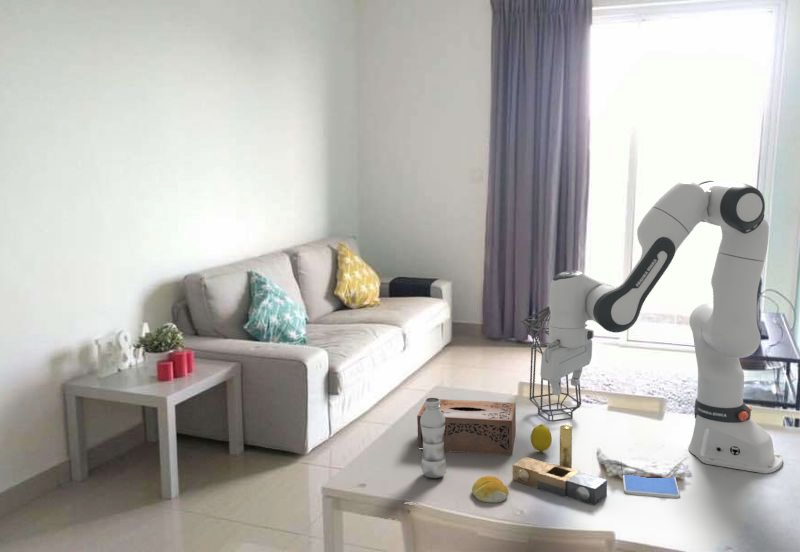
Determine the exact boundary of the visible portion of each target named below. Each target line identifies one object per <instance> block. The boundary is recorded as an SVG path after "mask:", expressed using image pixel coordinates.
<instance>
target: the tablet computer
mask: <svg viewBox="0 0 800 552" xmlns="http://www.w3.org/2000/svg"><path fill="white" fill-rule="evenodd" d="M622 482H623V485H622V486H623V493H625V494H626V495H636V496H644V497H645V496H647V497H659V498H669V499H670V498H671V499H679V498H680V497H681V495H680V491H679V486H678V483H677V479H676V476H675V477H674V476H673V477H670V478H646V477H640V476H634V475H623V476H622Z"/></svg>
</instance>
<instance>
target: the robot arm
mask: <svg viewBox="0 0 800 552" xmlns="http://www.w3.org/2000/svg"><path fill="white" fill-rule="evenodd" d="M765 211H766V202H765V198H764V195H763V193H762V192H761V191H760V190H758V188H756V187H755V186H752V185H750V184H748V183H747V184H746V183H739V182H737V181H736V182H735V181H728V180H726V181H725V180H724V181H714V180H708V181H702V182H699V183H695V182H693V181H689V180H683V181H681V182H678V183H676V184H675V185H674V186H671V188H670V189H668V191H667V192H665V193H664V194H663V195H662V196H661V197H660V198H659V199H658V200H657V201H656V202H655V203H654V205H653V206H652V207H651V208H650V209H649V210H648V212H647V213H646V214H645V215H644V216H643V218H642V220H640V223H639V224H638V227H637V229H636V232H637V233H636V235H637V241H638V243H639V245H640V247H641V255H640V258H639V260H638V262H637V263H636V264H635V266H634V267H633V268H632V270H631V271H630V272H629V273H628V275H627V277H626V278H625V279H624V281H623V282H622V283H621V284H620V285H618V286H616V287H615V286H613V285H611V284H608V283H605V282H603V281H600V280H596V279H593V278H592V277H589V276H588V275H586V274H584V273H583V272H582V271H580V270H565V271H562V272H559V273H557V274H555V275H554V276H553V277H552V278H551V279H552V280H551V282H550V289H549V297H548V298H549V299H548V302H549V303H548V306H549V309H550V315H551V317H550V316H549V317H550V321H549V323H548V328H549V329H548V330H549V332H548V333H549V335H548V343H549V344H546V345H547V346H546V348H545V349H543V350H542V352H543V354H541V362H540V372H539V373H540V379H541V378H542V379H543V381H547V382H548V381H550V387H551V391H552V392H551V394H552V393H553V395H552V396H557V397H558V395H562V394H561V393H563V392H562V390H563V388H562V387H560V386H559V382H560V378H561V379H562V378H563V377H566V375H568V376H569V375H570V374H572V375H571V377H570V385H571V386H577V387H578V385H579V384H580V385H581V383H580V381H581V380H580V378H581V376H582V373H583V368H584V367H586V366H588V365H590V363H591V361H592V358H593V357H592V355H593V341H592V339H593V338H594V334H595V333H594V329H593V330H592V329H589V328H586V327H585V324H586V323H587V322H588V321H593V322H595V323H597V324H598V325H600V326H601V327H602V328H603V329H604V330H605V331H608V332H610V333H615V334H616V333H617V334H618V333H622V332H625V331H627V330H629V329H630V328H632V327H633V326H634V325H635V324H636V322H637V321H638V318H639V316H640V313H641V310H642V308H643V305H644V303H645V301H646V300H647V297H648V296H649V295H650V294H651V292H652V290H654V288H655V286H656V285H657V283H658V282H659V280H660V279H661V278H662V276H663V275H664V274H665V272H666V270H667V269H668V268H669V266H670V264H671V263H672V261H673V259H674V257H675V256H676V255H675V254H676V252H677V251H678V249H679V247H681V245H682V244H683V243H684V241H685V240H686V239H687V237H688V236H689V235H690V234H691V233H692V231H694V229H695V227H696V226H698V224H699V223H701V222H702V223H707V224H710V225H714V226H719V227H720V229H721V240H720V244H719V247H718V252H717V255H716V259H715V263H714V267H713V270H712V276H711V282H710V284H711V287H712V295H713V296H712V297H713V298H712V299H713V302H712V303H703V304H700V305H698V306H697V307H695V308H694V310H692V312H691V313H690V316H689V327H690V330H691V332H692V338H693V345H694V350H695V357H696V363H697V393H696V394H697V395H696V398H695V402H694V411H693V413H694V419H695V421H694V426H693V427H694V428H693V433H692V436H691V440H690V443H689V445H688V451H689V452H690V453H691V454H692V455H694V456H695V457H697V458H698V459H699V460H700V461H701V463H703V464H707V465H713V466H719V467H725V468H729V469H737V470H742V471H747V472H754V473H759V474H770V473H773V472H775V471H777V470H779V469H780V468H781V467H782V466H783V463H784V459H783V455H782V454H781V453H780V452H778V451H775V450H774V443H773V439H772V436H771V434H770V433H768V432H767V431H766V430H764V429H763V428H762V427H761V426H760V425H758V423H756V422H755V421H754V420H753V419H751V416H752V415H751V414H752V413H751V412H752V409H753V406H752V405H750V406H747V404H745V403H744V385H745V373H744V371H743V368H742V364H741V361H740V359H743V358H748V357H750V356H752V355H753V354H755V352H756V351H757V350H758V349H759V348H760V345H761V338H762V337H761V333H760V330H759V326H758V313H757V312H758V310H757V309H758V291H759V287H760V282H761V277H762V273H763V270H764V265H765V261H766V257H767V253H768V246H769V244H768V243H769V235H770V234H769V233H770V230H769V229H770V226H769V223H768V221H767V220H766V219H765Z"/></svg>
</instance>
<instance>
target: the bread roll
mask: <svg viewBox="0 0 800 552" xmlns="http://www.w3.org/2000/svg"><path fill="white" fill-rule="evenodd" d="M471 491H472V492H471V493H472V495H473V496H475V498H476V499H477V500H479V501H480V502H484V503H486V504H487V503H488V504H489V503H490V504H491V503H500V502H503V501H505V500H506V499H507V497H508V496H509V493H510V492H509V488H508V487H507V486H506V485H505V484H504V483H503V481H502V480H501V479H500V478H498V477H496V476H492V475H486V476H485V475H484V476H481V477H479V478H478V479H477V480H476V481H475V482H473V486H472V489H471Z"/></svg>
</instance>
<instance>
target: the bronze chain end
mask: <svg viewBox="0 0 800 552" xmlns="http://www.w3.org/2000/svg"><path fill="white" fill-rule="evenodd" d="M577 472H581V471H580V470H579V469H574V468H572V469H571V468H567V467H563V466H560V464H556V463H552V462H551V463H550V462H549V463H548V462H545V461H542V460H539V459H535V458H531V457H528V456H525V457H522V458H521V459H519V460H518V461H516V462H515V463H512V480H513V481H515V482H519V483H523V484H526V485H529V486H531V487H535V488H538V481H540V482H543V483H547V484H550V485H553V486H556V487H560V488H563V489H566V480H568V479H569V478H571V477H572V476H573V475H575V474H576V473H577ZM555 474H556V475H559V476H562V477H559V476H555Z"/></svg>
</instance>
